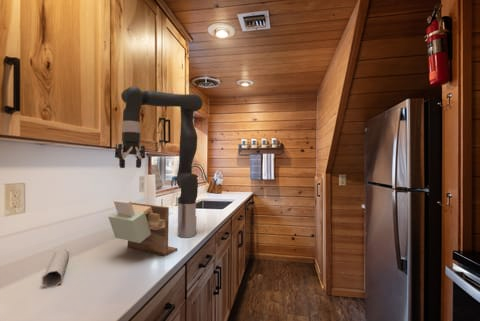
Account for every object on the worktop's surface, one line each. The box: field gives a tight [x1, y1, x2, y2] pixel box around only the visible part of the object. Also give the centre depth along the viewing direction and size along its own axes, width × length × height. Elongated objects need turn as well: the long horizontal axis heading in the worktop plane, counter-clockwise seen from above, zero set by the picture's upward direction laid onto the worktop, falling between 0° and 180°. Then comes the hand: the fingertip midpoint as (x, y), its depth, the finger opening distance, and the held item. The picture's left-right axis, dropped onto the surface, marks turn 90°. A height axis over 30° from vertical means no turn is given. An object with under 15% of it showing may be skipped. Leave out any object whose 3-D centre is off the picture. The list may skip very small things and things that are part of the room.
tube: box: [41, 248, 70, 289], centre depth 88 cm, size 5×5×25 cm
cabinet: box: [107, 199, 153, 243], centre depth 101 cm, size 10×14×16 cm
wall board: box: [127, 202, 179, 257], centre depth 109 cm, size 12×22×20 cm, turn 64°
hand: (130, 167), depth 112 cm, fingers open, 8 cm apart
